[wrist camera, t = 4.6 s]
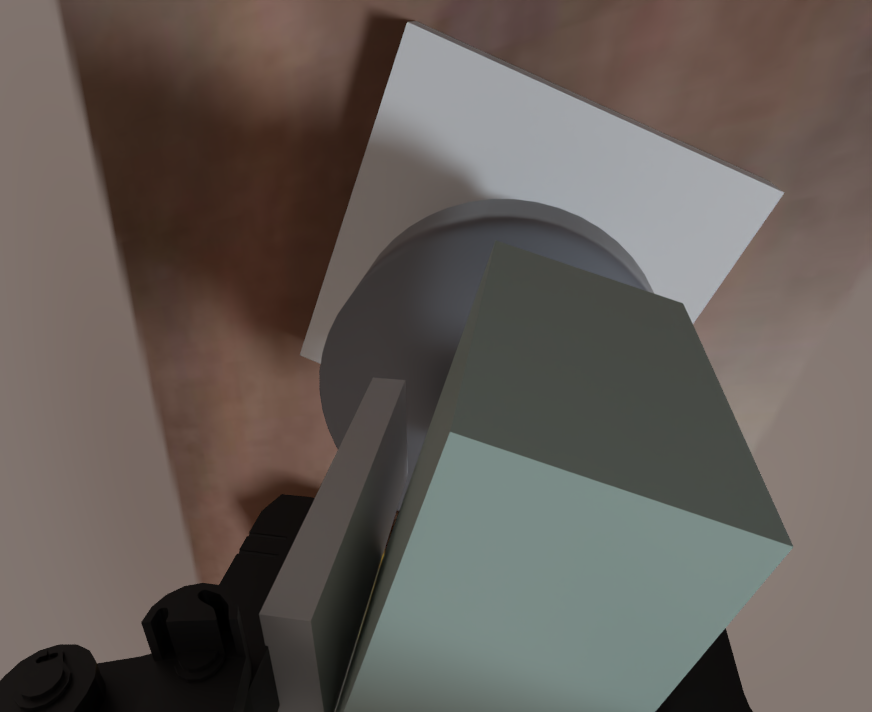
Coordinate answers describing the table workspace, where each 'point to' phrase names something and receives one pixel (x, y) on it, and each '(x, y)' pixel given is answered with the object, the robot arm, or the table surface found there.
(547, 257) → the cap
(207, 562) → the table surface
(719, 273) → the base
